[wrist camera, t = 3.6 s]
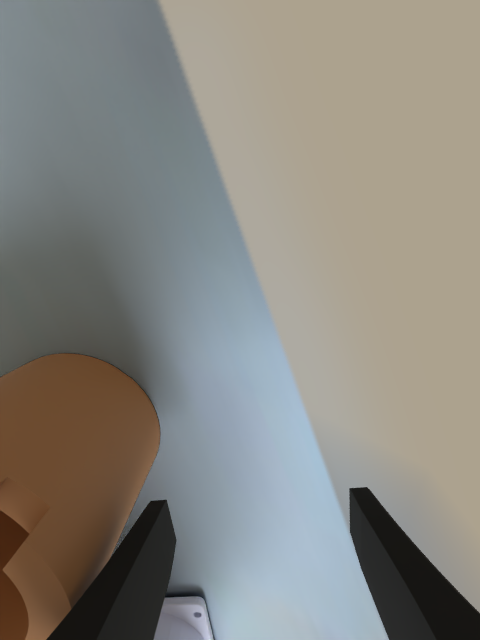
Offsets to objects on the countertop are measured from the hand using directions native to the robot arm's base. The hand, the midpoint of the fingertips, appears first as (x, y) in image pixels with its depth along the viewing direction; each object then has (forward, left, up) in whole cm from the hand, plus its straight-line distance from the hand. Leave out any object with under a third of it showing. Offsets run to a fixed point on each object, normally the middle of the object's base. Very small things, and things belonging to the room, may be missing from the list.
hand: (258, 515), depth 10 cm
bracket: (-2, +12, -4) cm, 13 cm away
